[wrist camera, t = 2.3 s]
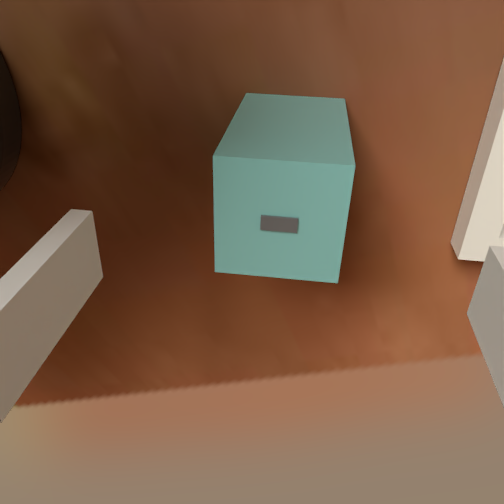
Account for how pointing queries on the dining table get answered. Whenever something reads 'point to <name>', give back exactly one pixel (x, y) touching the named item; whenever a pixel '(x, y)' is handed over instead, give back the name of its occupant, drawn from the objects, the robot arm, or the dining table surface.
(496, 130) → the white shallow tray
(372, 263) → the dining table surface
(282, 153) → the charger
